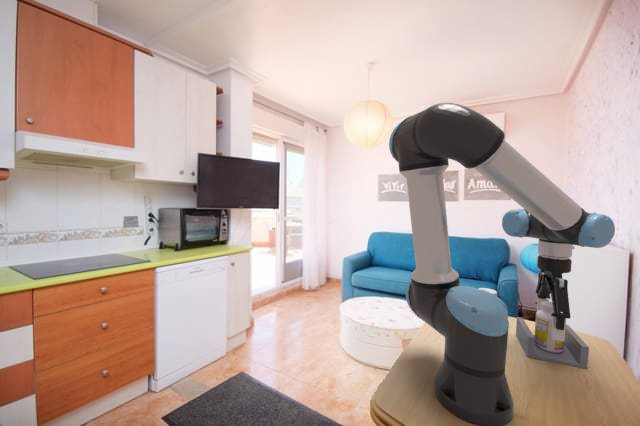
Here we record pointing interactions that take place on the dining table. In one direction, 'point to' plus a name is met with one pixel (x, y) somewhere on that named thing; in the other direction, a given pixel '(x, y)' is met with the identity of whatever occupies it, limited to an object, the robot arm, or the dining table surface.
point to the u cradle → (571, 354)
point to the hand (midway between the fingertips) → (549, 329)
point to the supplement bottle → (546, 329)
